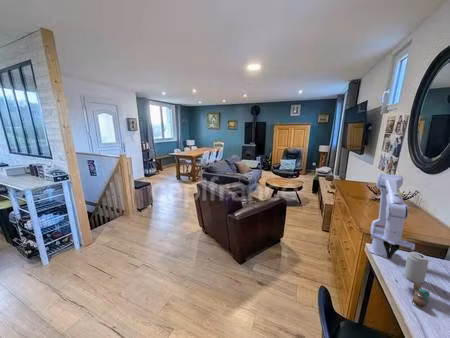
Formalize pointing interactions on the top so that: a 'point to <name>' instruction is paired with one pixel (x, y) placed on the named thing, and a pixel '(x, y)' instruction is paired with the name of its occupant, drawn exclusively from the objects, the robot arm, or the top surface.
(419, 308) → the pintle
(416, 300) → the latch bar
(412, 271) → the beverage can
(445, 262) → the top surface
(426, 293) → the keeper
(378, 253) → the robot arm
